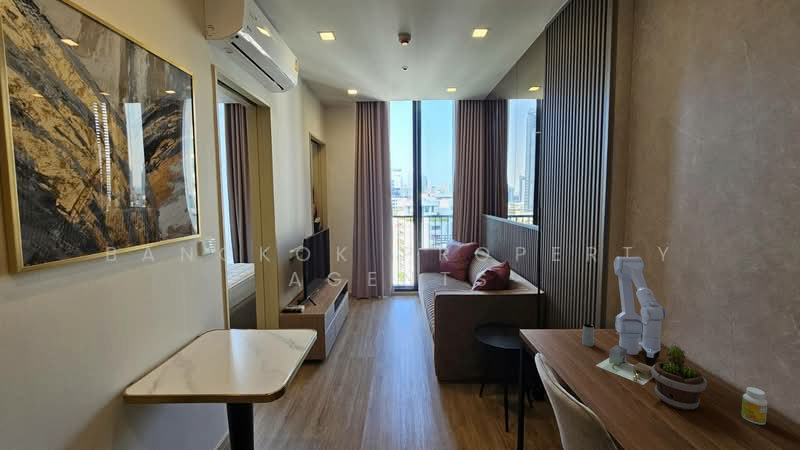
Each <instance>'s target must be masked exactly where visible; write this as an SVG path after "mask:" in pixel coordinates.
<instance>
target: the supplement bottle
mask: <svg viewBox="0 0 800 450" xmlns="http://www.w3.org/2000/svg"><path fill="white" fill-rule="evenodd" d="M768 406H769V405H768V401H767V400H766V393H765V391H764V390H761V389H760V388H757V387H753V386H752V387H751V386H748V387H746V393H743V394H742V402H741V416H742V418H743V419H744V420H746V421H748V422H751V423H752V424H757V425H766V422H767V414H768Z"/></svg>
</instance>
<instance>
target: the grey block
mask: <svg viewBox="0 0 800 450" xmlns="http://www.w3.org/2000/svg"><path fill="white" fill-rule="evenodd" d="M608 356H609V357H608V358H609V363H614V365H617V366H619V367H620V366H621V364H622V363H626V362H627V358H628V356H627V349H626V348H623V347H620V346H619V345H617V344H616V345H615V346H612V347H611V348H609V355H608Z"/></svg>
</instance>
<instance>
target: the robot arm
mask: <svg viewBox="0 0 800 450" xmlns="http://www.w3.org/2000/svg"><path fill="white" fill-rule="evenodd" d="M613 260H614V261H613V269H614V270H613V271H614V274H615V275H616V276H617V278H618V288H619V295H620V297H619V298H620V305H621V312H620V313H618V314H617V315H616V316H615V325H614V327H615V330H616V332H617V333H618V334H619V340H618V341H619V343H618V346H620V347H623V348H626V349H627V354H628V355H630V356H631V355H632V356H633V355H634V356H635V355H638V354H639V352H642V355H643V357H644V360H645V361H644V362H645V365H648V366H651V367H652V366H653V365H655V364H656V363H657V359H658V358H659V357H660V354H661V353H660V352H661V348H662V347H661V336H662V322H663V321H665V319H666V317H667V315H666V311H665V308H664V307H663V305H661V304H660V303H658V301H657V299H656V296H655V295H654V294H655V293H654V292H653V290H652V289H650V288H648V285H647V282H646V280H645V276H644V273H643V271H644V268H645V267H644V266H645V264H644V261H643V259H642V258H641V257H640V256H616V257H615V259H613ZM632 282H633V283H632ZM633 284H634V287H635V288H636V293H635V295H636V298H637V299H638V300H637V301H638V302H639V304H640V308H641V309H640V310H639V312H640V315H639V314H638V313H636V307H635V298H634V290H633Z"/></svg>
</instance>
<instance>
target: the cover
mask: <svg viewBox="0 0 800 450" xmlns="http://www.w3.org/2000/svg"><path fill="white" fill-rule="evenodd" d="M633 365H634V366H633V373H634V374H636V373H639V372H640V371H641V372H644V373H645V378H646V379H649V378H650V377H651V376H652V374H651V369H652V367H651V366H648V365H646V363H642V362H637V363H636V364H633Z"/></svg>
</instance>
